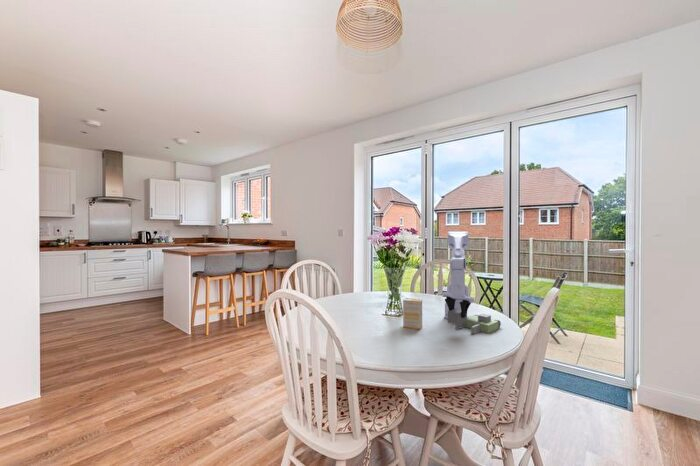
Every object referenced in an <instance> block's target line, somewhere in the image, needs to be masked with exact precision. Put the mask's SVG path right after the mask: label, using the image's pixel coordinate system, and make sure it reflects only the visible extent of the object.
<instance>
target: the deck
mask: <svg viewBox="0 0 700 466" xmlns="http://www.w3.org/2000/svg"><path fill="white" fill-rule="evenodd" d="M501 325H502V324H501V320H499V319H495V320H494V319H492V315H490V314H485V313H481V314H473V315H471V316H467V322H465V323H462V324H460V325H456V324H454V329H455V330H458V329H462V328H464V327H465V328H469V329H470V333H471V335H475V334H477V333H479V332H483V333H486V334H489V333H493V332H494V331H497V330H499V329H500V327H501Z"/></svg>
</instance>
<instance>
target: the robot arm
mask: <svg viewBox="0 0 700 466" xmlns="http://www.w3.org/2000/svg"><path fill="white" fill-rule="evenodd" d="M447 246H448V248H449V249H451V252H450V253H451V254H450V257H451V258H450V259H449V269H450V282H449V284H448V285H447V291H444V292H441V295H442V296H441V297H442V298H444V301H445V303H444V316H443V318H444V319H447V320H448V311H449V310H452V309H455V308H459V309H461V318H465V317H466V313H467V314H468V309H469V308H470V306H471V304H473V303H475V297H473V296H469V287H468V285H467V284H466V270H467V258H466V255H465V250H466V249H468V246H469V232H468V231H447Z"/></svg>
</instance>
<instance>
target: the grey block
mask: <svg viewBox="0 0 700 466" xmlns="http://www.w3.org/2000/svg"><path fill="white" fill-rule="evenodd" d="M467 317H468V312H467V313H466V317H465V318H461V309H459V308H455V309H452V310H449V311H448V319H447V323H449V324H453V325H455V324H456V325H460V324H462V323H465V322H467Z"/></svg>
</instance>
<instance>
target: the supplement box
mask: <svg viewBox="0 0 700 466" xmlns="http://www.w3.org/2000/svg"><path fill="white" fill-rule="evenodd" d="M402 317H403V318H402V320H403V322H402V324H403V325H402V326H403V328H404V329H405V328H406V329H414V330H422V328H423V298H413V297H404V299H402Z"/></svg>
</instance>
